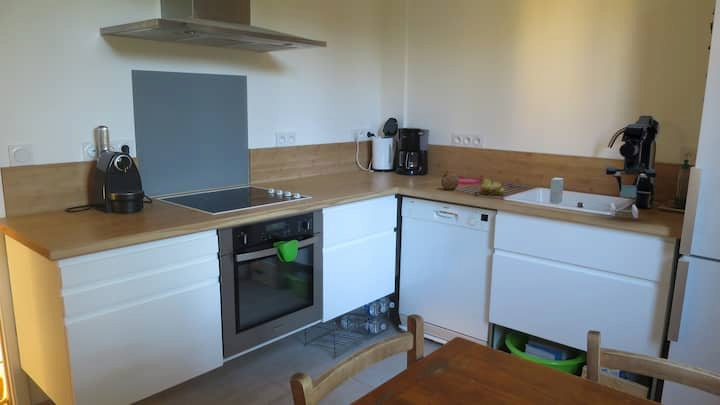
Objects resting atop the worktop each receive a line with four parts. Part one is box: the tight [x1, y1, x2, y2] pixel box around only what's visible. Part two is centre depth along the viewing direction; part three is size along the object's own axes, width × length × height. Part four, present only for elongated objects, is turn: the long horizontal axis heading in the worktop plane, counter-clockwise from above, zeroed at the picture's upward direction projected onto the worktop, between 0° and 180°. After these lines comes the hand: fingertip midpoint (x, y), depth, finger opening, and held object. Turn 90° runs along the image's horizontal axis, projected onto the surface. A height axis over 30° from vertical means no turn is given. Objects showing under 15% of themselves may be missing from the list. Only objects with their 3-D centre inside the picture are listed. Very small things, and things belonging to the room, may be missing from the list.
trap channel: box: [609, 202, 639, 219], centre depth 230 cm, size 15×10×3 cm, turn 157°
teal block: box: [619, 184, 637, 199], centre depth 219 cm, size 6×6×4 cm
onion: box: [440, 173, 459, 191], centre depth 284 cm, size 10×9×10 cm
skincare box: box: [548, 177, 565, 205], centre depth 251 cm, size 6×4×12 cm
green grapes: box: [480, 177, 506, 196], centre depth 272 cm, size 13×10×8 cm
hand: (628, 192), depth 219 cm, fingers closed on teal block, 5 cm apart
